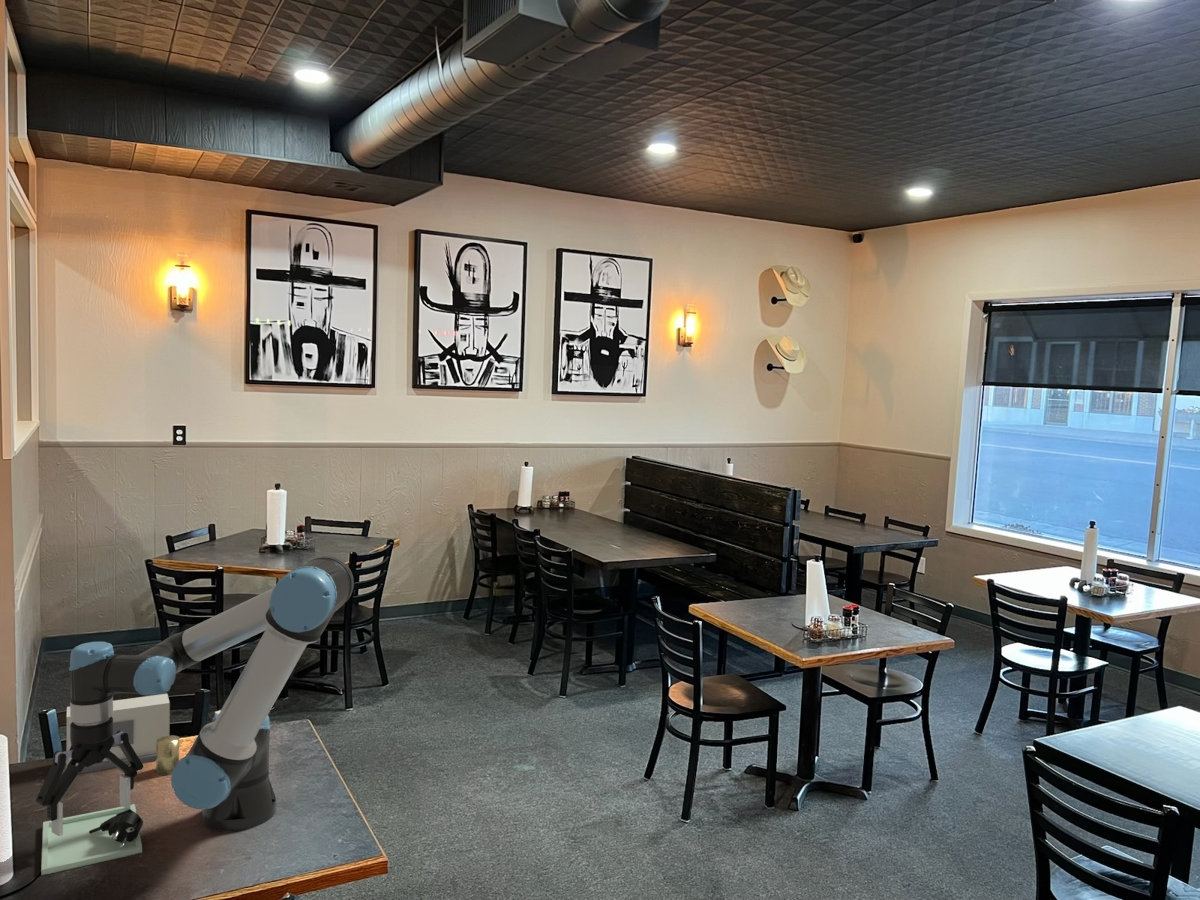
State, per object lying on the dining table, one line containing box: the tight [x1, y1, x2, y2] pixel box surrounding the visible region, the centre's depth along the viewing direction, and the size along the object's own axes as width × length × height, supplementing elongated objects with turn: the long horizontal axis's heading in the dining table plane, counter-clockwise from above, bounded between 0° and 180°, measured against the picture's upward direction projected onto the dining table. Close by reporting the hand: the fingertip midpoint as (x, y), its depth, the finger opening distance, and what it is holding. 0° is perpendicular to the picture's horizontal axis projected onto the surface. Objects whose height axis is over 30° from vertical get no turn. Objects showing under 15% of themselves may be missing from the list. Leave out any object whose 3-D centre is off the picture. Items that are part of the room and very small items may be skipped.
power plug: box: [89, 809, 144, 848], centre depth 174 cm, size 6×8×12 cm
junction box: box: [61, 693, 171, 776], centre depth 212 cm, size 24×10×14 cm, turn 121°
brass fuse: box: [155, 734, 180, 776], centre depth 207 cm, size 5×5×8 cm
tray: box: [40, 803, 143, 877], centre depth 175 cm, size 20×17×2 cm
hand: (92, 819), depth 175 cm, fingers open, 13 cm apart
